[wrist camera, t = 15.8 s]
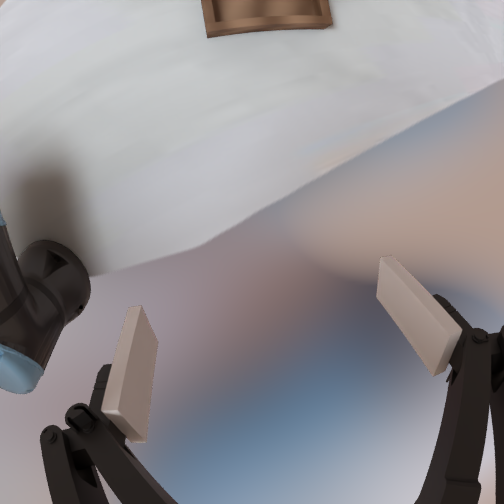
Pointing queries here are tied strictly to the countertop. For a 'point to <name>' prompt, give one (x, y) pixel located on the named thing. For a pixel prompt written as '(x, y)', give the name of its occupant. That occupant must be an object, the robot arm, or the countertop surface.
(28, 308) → the robot arm
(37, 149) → the countertop surface
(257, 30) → the tray
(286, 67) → the countertop surface
